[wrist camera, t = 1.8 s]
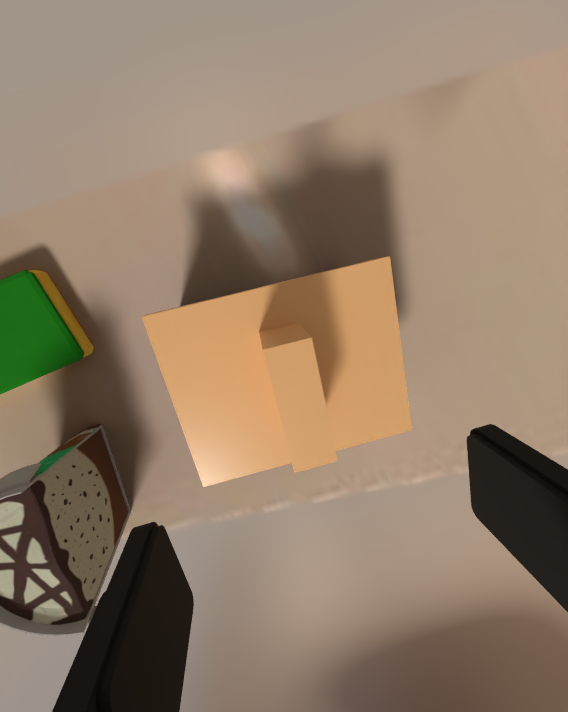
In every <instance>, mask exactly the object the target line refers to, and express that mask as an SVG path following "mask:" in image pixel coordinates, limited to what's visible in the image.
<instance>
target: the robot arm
mask: <svg viewBox="0 0 568 712" xmlns="http://www.w3.org/2000/svg"><path fill="white" fill-rule="evenodd" d="M467 450H468V464H469V478H470V491H471V505H472V509H473V512H474V513H475V515H476V517H477V518H478V519H479V520H480V521H481V522H482V523H483V524H484V526H485V527H486V528H487V529H488V530H489V531H490V532H491V533H492V534H493V535H494V536H495V537H496V538H497V539H498V540H499V541H500V542H501V543H502V544H503V545H504V546H505V547H506V548H507V549H508V551H509V552H510V553H511V554H512V555H513V556H514V557H515V558H516V559H517V560H518V561H519V562H520V563H521V564H522V565H523V566H524V567H525V568H526V569H527V570H528V571H529V572H530V573H531V574H532V575H533V577H534V578H536V580H537V581H538V582H539V583H540V584H541V585H542V586H543V587H544V588H545V589H546V590H547V591H548V592H549V593H550V594H551V595H552V596H553V597H554V598H555V599H556V600H557V602H559V604H560V605H561V606H562V607H563V608H564V609H565V610H566V611H567V612H568V469H566V468H564V467H563V466H561V465H559V464H557V463H556V462H554V461H553V460H551V459H549V458H548V457H546V456H544V455H543V454H541V453H539V452H538V451H536V450H535V449H533V448H531V447H530V446H528V445H526V444H525V443H523V442H521V441H520V440H518V439H516V438H515V437H513V436H511V435H510V434H508V433H507V432H505V431H503V430H502V429H500V428H498V427H497V426H495V425H492V424H489V425H486V426H482V427H479V428H475V429H473V430H471V432H470V435H469V436H468V437H467ZM193 605H194V604H193V594H192V591H191V589H190V587H189V584H188V582H187V579H186V577H185V575H184V572H183V570H182V568H181V565H180V563H179V560H178V558H177V556H176V553H175V551H174V549H173V546H172V544H171V542H170V539H169V537H168V534H167V532H166V530H165V528H164V526H163V525H161V526H158V525H157V523H155V522H151V523H148V524H145V525H141V526H138V527H134V528H133V529H132V531H131V532H130V535H129V537H128V540H127V542H126V545H125V547H124V549H123V552H122V554H121V556H120V559H119V561H118V564H117V566H116V569H115V571H114V573H113V576H112V578H111V581H110V583H109V585H108V588H107V590H106V591H105V592H104V593H103V595H102V597H101V598H100V600H99V603H98V605H97V607H96V610H95V612H94V614H93V617H92V619H91V621H90V624H89V626H88V628H87V631H86V633H85V636H84V638H83V640H82V643H81V645H80V648H79V650H78V652H77V655H76V657H75V659H74V662H73V664H72V666H71V669H70V671H69V673H68V676H67V678H66V680H65V683H64V685H63V687H62V690H61V692H60V695H59V697H58V699H57V702H56V704H55V706H54V709H53V711H52V712H179V710H180V702H181V695H182V687H183V680H184V672H185V666H186V657H187V650H188V643H189V636H190V628H191V621H192V614H193Z"/></svg>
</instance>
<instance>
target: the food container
mask: <svg viewBox="0 0 568 712" xmlns="http://www.w3.org/2000/svg"><path fill="white" fill-rule="evenodd" d="M130 513H131V509H130V506H129V503H128V500H127V497H126V494H125V491H124V488H123V485H122V482H121V479H120V476H119V473H118V470H117V467H116V464H115V461H114V458H113V455H112V452H111V449H110V446H109V443H108V440H107V437H106V434H105V431H104V428H103V425H102V424H100V425H97V426H93V427H89V428H87V429H85V430H84V431H82V432H80V433H78V434H77V435H75V436H73V437H72V438H71V439H69V440H68V441H67V442H65V443H64V444H63V445H61V446H60V447H59V448H57V449H56V450H55V451H53V452H52V453H51V454H49V455H48V456H47V457H45V458H44V459H43V460H42V461H40V462H39V463H38V464H34V465H30V466H26V467H23V468H21V469H18V470H16V471H13V472H11V473H9V474H7V475H6V476H4V477H2V478H1V479H0V624H1V625H4V626H6V627H9V628H11V629H14V630H18V631H21V632H25V633H30V634H37V635H47V636H63V635H74V634H80V633H83V632H84V630H85V628H86V626H88V625H89V624H90V621H91V619H92V617H93V614H94V612H95V610H96V607H97V606H95V603H96V601H97V598H98V596H99V593H100V590H101V588H102V585H103V583H104V580H105V577H106V575H107V572H108V570H109V567H110V564H111V562H112V559H113V557H114V554H115V551H116V549H117V546H118V544H119V541H120V539H121V536H122V534H123V531H124V528H125V526H126V523H127V521H128V518H129V515H130Z"/></svg>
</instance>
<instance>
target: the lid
mask: <svg viewBox="0 0 568 712" xmlns="http://www.w3.org/2000/svg"><path fill="white" fill-rule="evenodd" d="M142 320H143V322H144V325H145V328H146V331H147V333H148V336H149V339H150V342H151V344H152V347H153V350H154V353H155V355H156V358H157V361H158V363H159V366H160V369H161V372H162V374H163V377H164V380H165V383H166V385H167V388H168V391H169V394H170V396H171V399H172V402H173V405H174V407H175V410H176V413H177V416H178V418H179V421H180V424H181V427H182V429H183V432H184V435H185V438H186V440H187V443H188V446H189V449H190V451H191V454H192V457H193V460H194V462H195V465H196V468H197V471H198V473H199V476H200V479H201V482H202V484H203V487H205V486H209V485H213V484H216V483H220V482H224V481H227V480H231V479H235V478H238V477H242V476H246V475H249V474H253V473H257V472H260V471H264V470H268V469H271V468H275V467H278V466H282V465H286V464H289V463H292V465H293V469H294V473H296V472H300V471H303V470H307V469H311V468H314V467H318V466H321V465H325V464H329V463H332V462H336V461H338V460H337V455H336V451H337V450H341V449H344V448H348V447H352V446H355V445H359V444H363V443H366V442H370V441H374V440H377V439H381V438H385V437H388V436H392V435H396V434H399V433H403V432H407V431H410V430H412V427H411V419H410V411H409V403H408V395H407V387H406V379H405V371H404V363H403V355H402V347H401V339H400V332H399V324H398V316H397V308H396V300H395V292H394V284H393V276H392V268H391V260H390V256H386V257H381V258H377V259H373V260H369V261H364V262H360V263H356V264H352V265H348V266H344V267H340V268H336V269H332V270H328V271H324V272H319V273H315V274H311V275H307V276H303V277H299V278H295V279H291V280H287V281H283V282H278V283H274V284H270V285H266V286H262V287H258V288H254V289H250V290H246V291H242V292H237V293H233V294H229V295H225V296H221V297H217V298H213V299H209V300H205V301H201V302H196V303H192V304H188V305H184V306H180V307H176V308H172V309H168V310H164V311H160V312H156V313H151V314H147V315H144V316H142Z"/></svg>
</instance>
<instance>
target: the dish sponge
mask: <svg viewBox="0 0 568 712" xmlns="http://www.w3.org/2000/svg"><path fill="white" fill-rule="evenodd" d="M93 349H94V347H93V346H92V344H91V342H90V341H89V339H88V338H87V336H86V334H85V333H84V331H83V330H82V328H81V326H80V325H79V323H78V322H77V320H76V318H75V317H74V315H73V314H72V312H71V310H70V309H69V307H68V306H67V304H66V303H65V301H64V299H63V298H62V296H61V295H60V293H59V291H58V290H57V288H56V287H55V285H54V283H53V282H52V280H51V279H50V277H49V275H48V274H47V273H46V272H43V271H41V270H29V271H27V270H23V271H21V272H18V273H16V274H14V275H12V276H9V277H7V278H5V279H2V280H0V394H2V393H4V392H7V391H9V390H11V389H14V388H16V387H18V386H20V385H23V384H25V383H27V382H30V381H32V380H34V379H37V378H39V377H41V376H43V375H46V374H48V373H50V372H53V371H55V370H57V369H60V368H62V367H64V366H66V365H69V364H71V363H73V362H76V361H78V360H80V359H82V358H84V357H86V356H88V355H90V354H92V353H93Z"/></svg>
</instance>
